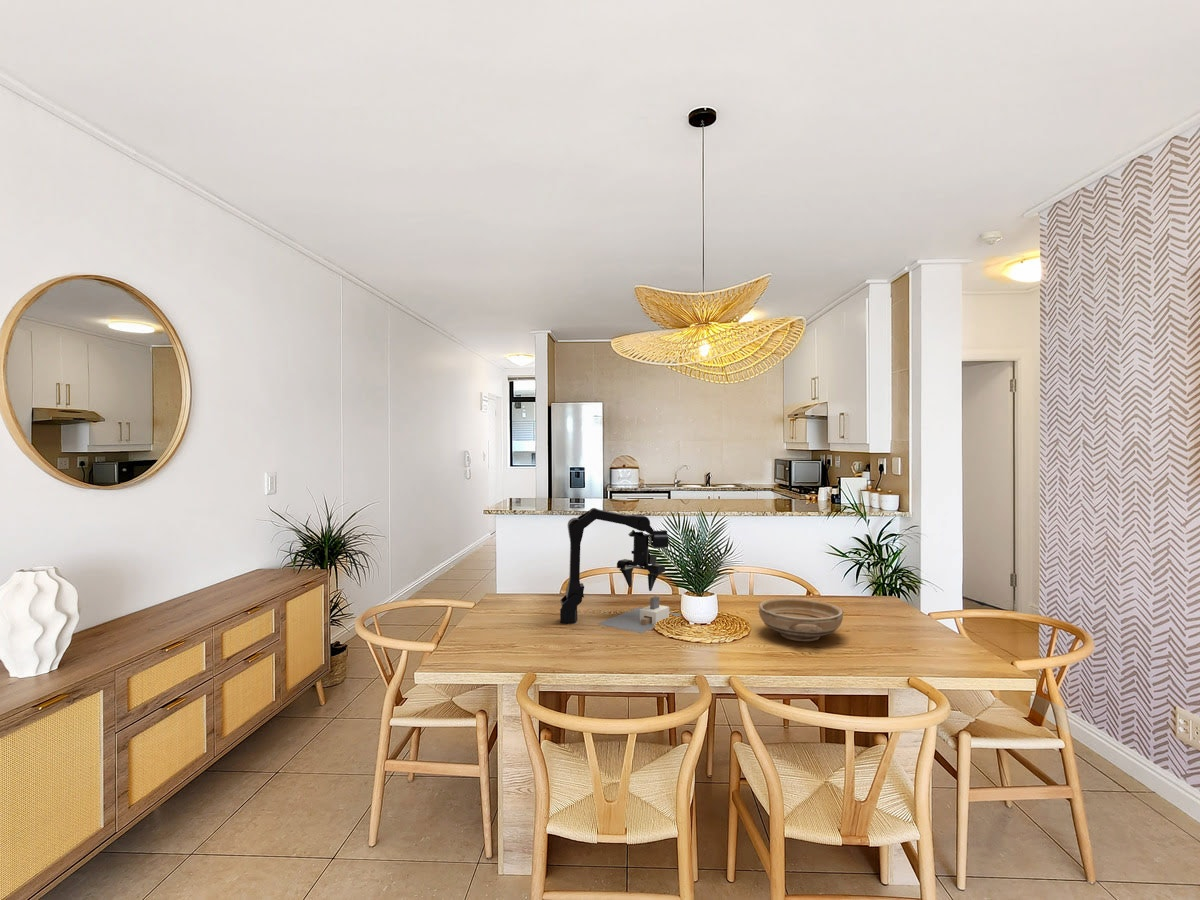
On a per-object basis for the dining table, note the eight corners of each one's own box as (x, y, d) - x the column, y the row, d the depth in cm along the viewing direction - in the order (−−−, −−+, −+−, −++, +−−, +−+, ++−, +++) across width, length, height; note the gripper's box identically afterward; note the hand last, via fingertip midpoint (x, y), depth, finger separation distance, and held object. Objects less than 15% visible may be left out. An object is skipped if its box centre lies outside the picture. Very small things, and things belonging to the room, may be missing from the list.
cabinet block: (655, 624, 227) (655, 601, 227) (639, 621, 231) (639, 598, 231) (669, 618, 235) (669, 596, 235) (653, 615, 239) (653, 593, 239)
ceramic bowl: (854, 655, 195) (854, 624, 195) (762, 650, 201) (762, 620, 201) (832, 623, 232) (832, 596, 232) (754, 619, 237) (754, 593, 237)
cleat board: (641, 636, 216) (641, 627, 216) (596, 626, 228) (596, 618, 228) (682, 617, 240) (682, 609, 240) (639, 609, 252) (639, 602, 252)
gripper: (672, 548, 235) (672, 589, 235) (632, 543, 246) (631, 582, 246) (657, 551, 226) (656, 594, 226) (616, 546, 237) (615, 586, 237)
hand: (640, 589), depth 234 cm, fingers open, 9 cm apart
